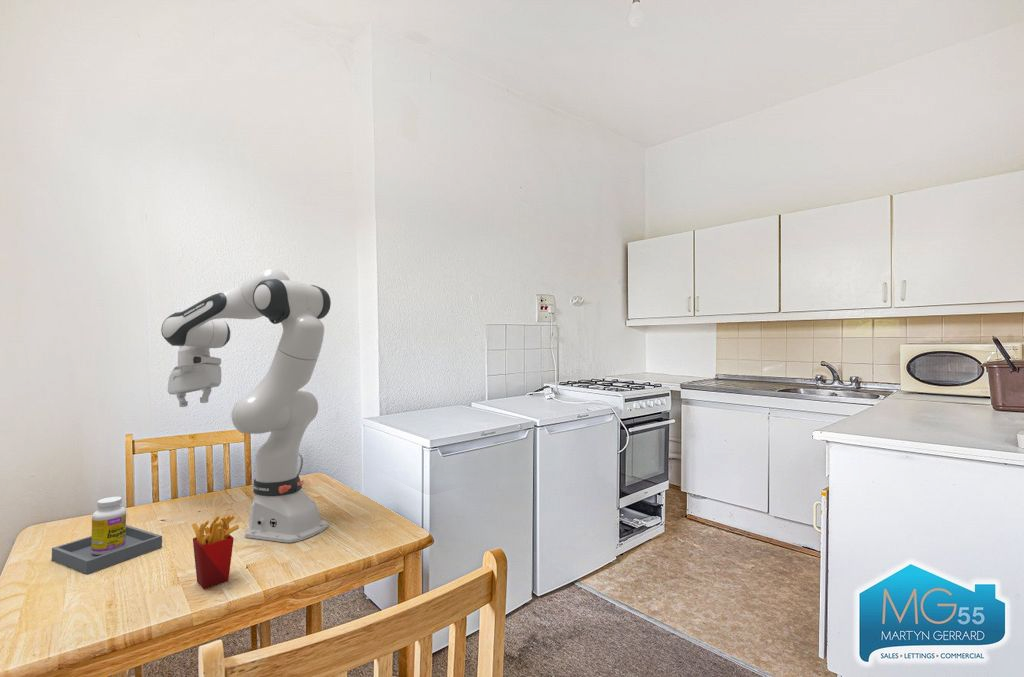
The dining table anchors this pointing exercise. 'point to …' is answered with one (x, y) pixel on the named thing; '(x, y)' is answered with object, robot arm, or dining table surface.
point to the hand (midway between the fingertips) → (193, 404)
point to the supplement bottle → (108, 526)
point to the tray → (86, 562)
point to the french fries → (213, 551)
